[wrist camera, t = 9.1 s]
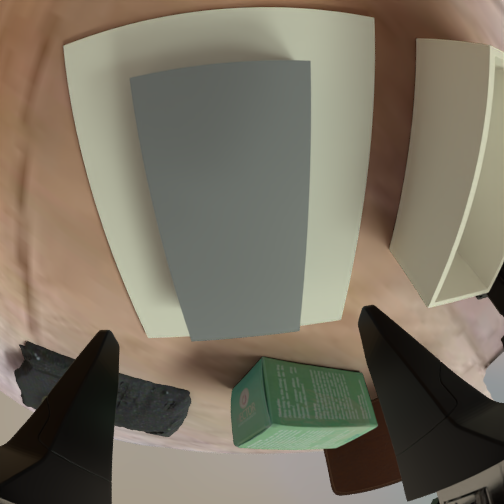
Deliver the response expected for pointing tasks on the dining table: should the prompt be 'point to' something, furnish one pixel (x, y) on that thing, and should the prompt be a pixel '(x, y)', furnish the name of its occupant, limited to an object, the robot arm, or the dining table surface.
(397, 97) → the dining table surface
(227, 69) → the grey rectangular block
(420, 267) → the base
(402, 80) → the dining table surface
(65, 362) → the dark slate chunk
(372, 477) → the letter holder
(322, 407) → the box
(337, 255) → the pale cream mat
